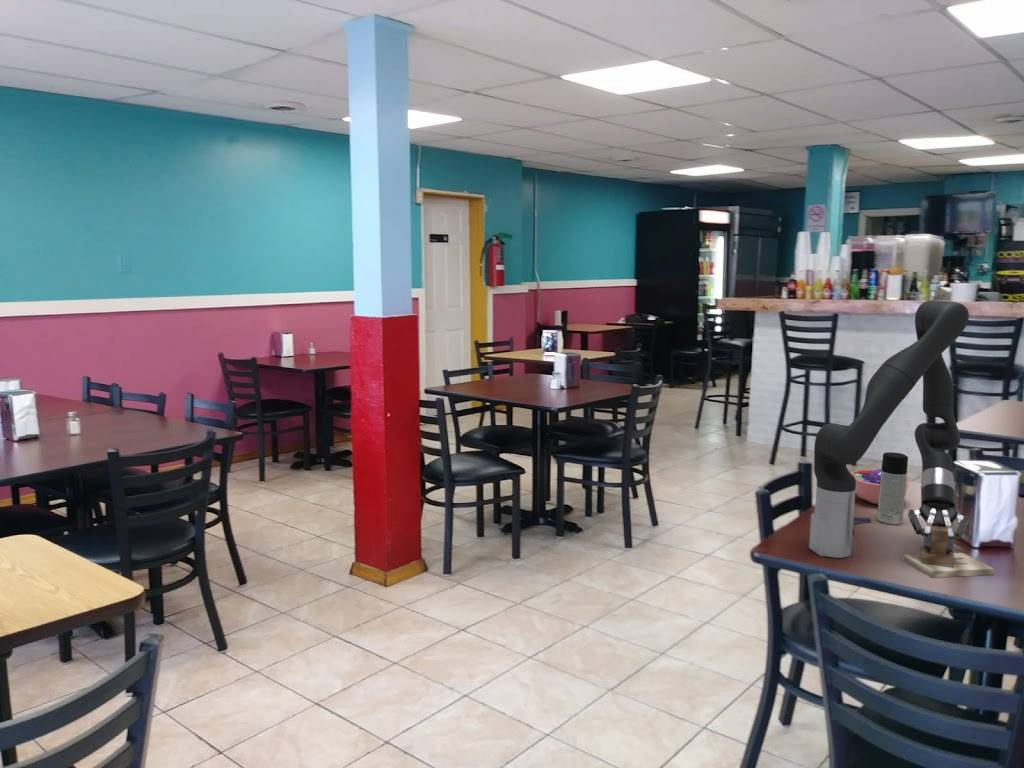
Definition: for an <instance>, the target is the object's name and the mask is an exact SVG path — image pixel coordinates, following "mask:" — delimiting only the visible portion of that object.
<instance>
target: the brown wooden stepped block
mask: <svg viewBox="0 0 1024 768" xmlns="http://www.w3.org/2000/svg"><path fill="white" fill-rule="evenodd" d="M930 535H931V551H930V552H929V551H927V549H925V548H924V546H920V548H919V549H920V550H919V554H920V560H921V563H922V564H929V565H937V566H944V567H951V568H954V562H955V557H954V554H953V553H954V552H953V550H952V552H950V553H949V554H946V550H947V542H948V529H947V528H946V527H938V526H931V531H930Z"/></svg>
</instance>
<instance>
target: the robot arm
mask: <svg viewBox="0 0 1024 768" xmlns="http://www.w3.org/2000/svg"><path fill="white" fill-rule="evenodd" d="M969 318H970V314H969V310H968V308H967V307H966V306H965V305H964V304H962V303H960V302H956V301H950V300H949V301H948V300H947V301H946V300H934V299H933V300H926V301H924V302H922V303H921V304H920V305H919V306H918V308H917V309H916V311H915V317H914V325H915V333H916V338H917V339H916V340H917V341H915V342H913V343H912V344H911V345H909V346H907V347H905V348H904V349H901V350H900V351H898V352H897V353H895V354H893V355H891V356H890V357H888V359H886V360H885V361H884V362H883V363H882V364H881V365H880V367H879V368H878V369H877V370H876V371H875V372H874V374H873V375H872V377H871V378H870V379H869V381H868V383H867V386H866V391H865V398H864V401H863V402H864V403H863V407H862V408H861V410H860V412H859V413H858V415H857V416H856V417H855V419H854V420H853V421H852V422H851V423H850V424H849V425H848V426H845V425H841V424H838V423H827V424H824V425H823V426H821V428H820V429H819V430H818V432H817V434H816V435H815V436H816V437H815V440H814V448H813V451H814V455H813V460H814V461H813V470H814V471H813V472H814V475H815V479H816V488H815V489H816V490H815V505H814V512H813V513H811V515H810V529H809V542H808V543H809V544H808V548H809V549H810V550H811V551H812V552H813V553H816V555H818V556H819V557H829V558H839V559H841V558H848V557H850V556H851V555H852V548H853V547H852V544H853V543H852V542H853V535H852V531H853V527H854V526H853V517H855V516H854V515H855V501H856V493H855V490H856V480H855V478H854V476H853V475H852V474H851V473H852V472H850V471H849V468H848V466H849V465H852V464H855V463H857V462H858V461H860V459H861V458H863V457H864V455H865V454H866V452H867V451H868V449H869V447H870V446H871V444H872V443H873V441H875V438H876V437H877V435H879V432H880V431H881V429H882V428H883V426H884V425H885V423H886V422H887V420H889V419H890V417H891V416H892V415H893V413H894V412H895V410H896V409H897V408H898V406H900V404H901V403H902V402H903V400H904V399H906V397H907V396H908V395H909V393H910V392H911V391H912V390H913V389H914V387H915V386H916V385H917V383H918V382H919V380H920V379H921V378H922V412H923V413H924V414H926V415H928V416H931V417H936V418H940V419H941V420H943V422H944V423H941V422H940V423H939V422H936V423H934V422H933V423H932V422H922V423H920V424H918V425H917V426H916V428H915V430H914V440H915V443H916V445H917V448H918V450H919V453H920V457H921V464H922V465H921V467H922V468H921V470H922V471H921V473H922V474H921V479H920V481H921V482H920V496H921V497H920V507H919V509H917V510H914V509H912V508H911V509H909V510H908V515H907V517H908V519H909V521H910V524H911V526H912V528H913V531H914V533H915V534H916V535H918V536H922V537H923V547H924V548H925V549H927V551H929V552H930V551H931V535H930V531H931V526H938V527H946V528H947V529H948V542H947V550H946V554H949V553H950V552H952V551H953V550H954V540H957V541H959V540H960V539H961V538H962V536H963V534H964V532H965V530H966V528H967V527H968V524H969V522H970V516H969V515H961V514H959V512H958V511H957V509H956V490H955V489H956V488H955V487H956V484H955V479H954V460H953V457H952V456H951V454H949V453H948V452H945V451H953V450H955V449H957V448H958V447H959V445H960V442H961V436H960V435H961V434H960V431H959V428H958V426H957V423H956V419H955V418H956V417H955V415H954V414H955V413H954V382H953V378H952V375H951V373H950V370H949V369H948V366H947V364H946V362H945V359H944V357H943V353H944V352H945V351H946V349H948V348H949V347H950V346H951V345H952V344H953V343H954V342H955V341H956V340H957V339H958V338H959V337H960V336H961V335H962V333H963V332H964V331H965V329H966V327H967V326H968V323H969ZM847 465H848V466H847ZM920 517H921V518H922V519H923V520H924V522H925V523H926V525H925V528H923V527H922V524H921V522H920V521H919V518H920ZM955 520H957V524H958V525H959V526H958V527H957V530H956V531H953V529H952V527H953V526H952V523H954V521H955Z"/></svg>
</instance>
